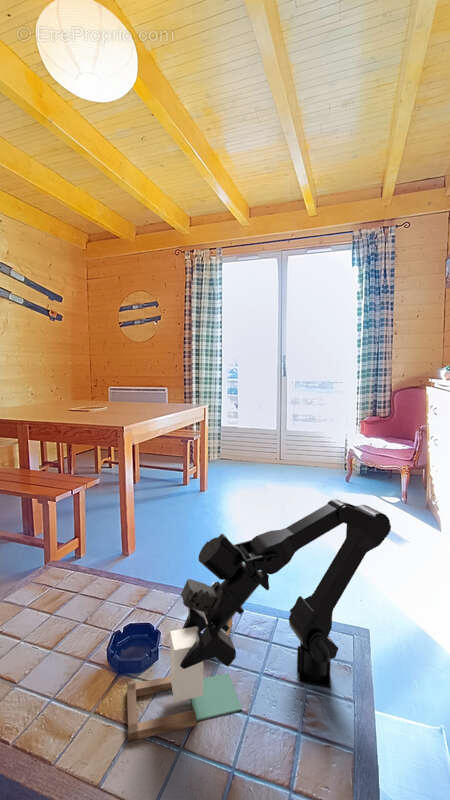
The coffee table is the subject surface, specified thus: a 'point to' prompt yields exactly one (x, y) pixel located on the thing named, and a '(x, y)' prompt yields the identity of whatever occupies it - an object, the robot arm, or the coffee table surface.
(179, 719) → the brown wooden frame
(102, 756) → the coffee table surface
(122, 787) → the coffee table surface
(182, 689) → the cream block
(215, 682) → the green mat
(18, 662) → the coffee table surface
